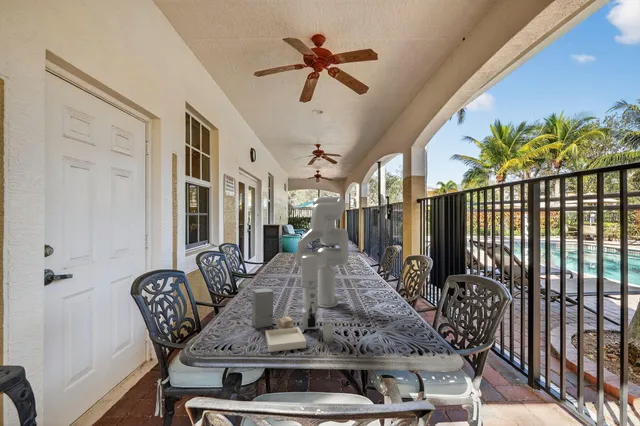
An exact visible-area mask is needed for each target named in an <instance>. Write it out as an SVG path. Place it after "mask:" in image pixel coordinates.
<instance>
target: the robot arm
mask: <svg viewBox="0 0 640 426" xmlns="http://www.w3.org/2000/svg"><path fill="white" fill-rule="evenodd" d="M312 205H313V207H312V211H311V216H310V225H309V229H308V231H307V232H306V233H305V234H304V235H303V236H301V239H300V240H299V242H298V244H297V246H296V247H297V248H296V252H295V265H296V266H297V267H298V268H300V287H301V288H302V305H303V306H302V307H303V308H305V309H306V311H308V317H309V318H308V328H310V327H315V310H316V312H318V311H319V307H320V308H326V309H327V308H335V307H337V306H338V304H339V302H340V301H344V296H337V295H336V272H335V269H334V268H333V266H339V267H340V266H343V267H344V266H346V265H348V263H349V233H348V230H346V229H345V228H336V221H337V220H340V219H341V218H342V216H343V214H344V212H345V209H346V201H345V198H344V197H339V196H321V197H320V196H319V197H316V198H314V199H313V201H312ZM318 239H319V243H320V244H321V245H323V246H336V247H321V248H318V250H317V251H305V249H306V247H307V246H308V245H309V244H310V243H312V242H313V241H316V240H318ZM337 246H338V247H337ZM309 309H311V310H312V311H309ZM310 312H312V313H311V314H310Z"/></svg>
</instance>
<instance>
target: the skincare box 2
mask: <svg viewBox="0 0 640 426" xmlns="http://www.w3.org/2000/svg"><path fill="white" fill-rule="evenodd" d="M309 311H312V310H311V309H309ZM317 312H318V311H316V310H315V327H310V328H308V318H309V317H308V311H306V309H305V308H304V307H302V329H303V330H312V329H313V330H316V329H317ZM311 313H312V312H310V314H311Z"/></svg>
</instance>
